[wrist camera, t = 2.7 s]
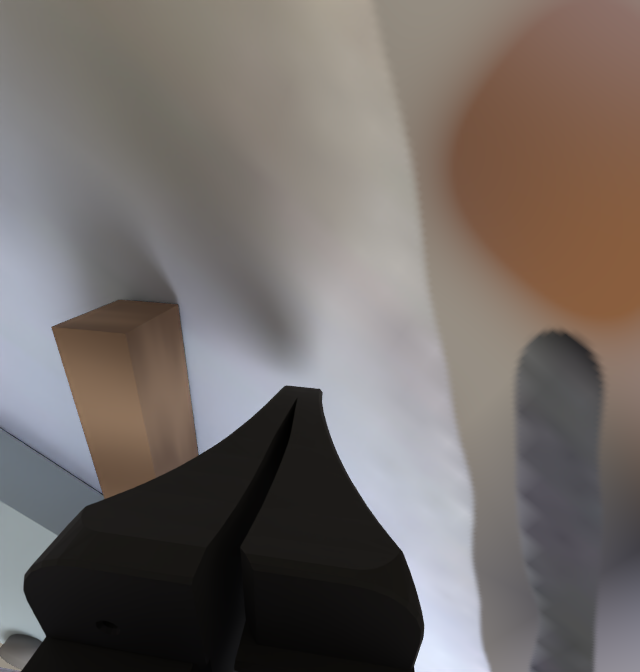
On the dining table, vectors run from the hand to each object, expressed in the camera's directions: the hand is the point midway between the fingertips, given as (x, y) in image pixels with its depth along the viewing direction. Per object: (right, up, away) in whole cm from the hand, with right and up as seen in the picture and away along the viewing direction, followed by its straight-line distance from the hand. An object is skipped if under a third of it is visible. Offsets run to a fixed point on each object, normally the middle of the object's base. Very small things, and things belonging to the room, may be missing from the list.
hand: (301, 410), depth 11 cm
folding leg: (-6, -2, +4) cm, 8 cm away
